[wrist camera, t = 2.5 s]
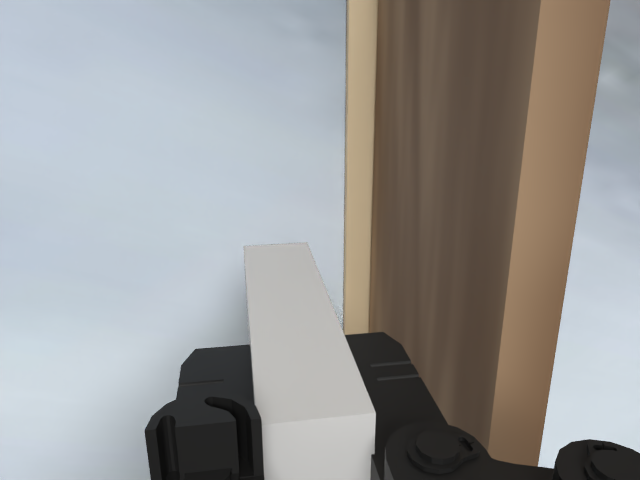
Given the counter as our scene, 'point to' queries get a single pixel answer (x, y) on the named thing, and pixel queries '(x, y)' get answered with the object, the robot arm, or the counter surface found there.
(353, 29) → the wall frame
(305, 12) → the counter surface
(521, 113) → the door
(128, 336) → the counter surface
